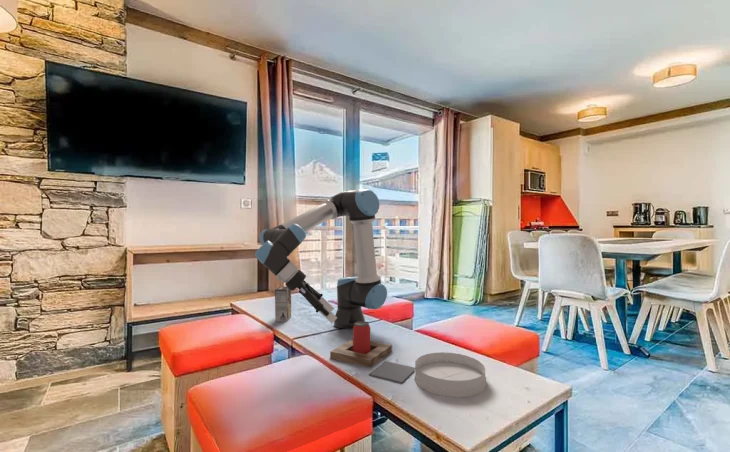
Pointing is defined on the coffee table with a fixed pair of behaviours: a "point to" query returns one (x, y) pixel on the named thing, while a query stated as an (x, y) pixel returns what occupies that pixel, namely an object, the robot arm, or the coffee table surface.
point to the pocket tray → (368, 360)
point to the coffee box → (282, 304)
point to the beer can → (361, 337)
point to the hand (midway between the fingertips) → (333, 315)
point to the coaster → (392, 372)
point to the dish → (450, 374)
